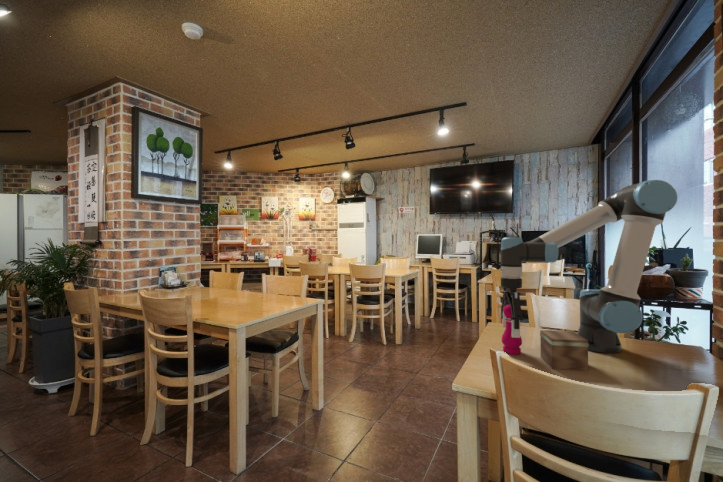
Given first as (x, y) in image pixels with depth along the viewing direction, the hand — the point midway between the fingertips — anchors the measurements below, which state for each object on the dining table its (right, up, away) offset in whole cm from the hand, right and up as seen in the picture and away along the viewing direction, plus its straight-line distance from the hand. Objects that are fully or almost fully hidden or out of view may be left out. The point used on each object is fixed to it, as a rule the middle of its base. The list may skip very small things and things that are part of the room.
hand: (510, 332), depth 128 cm
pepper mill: (0, -8, 0) cm, 8 cm away
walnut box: (+13, -8, -12) cm, 19 cm away
